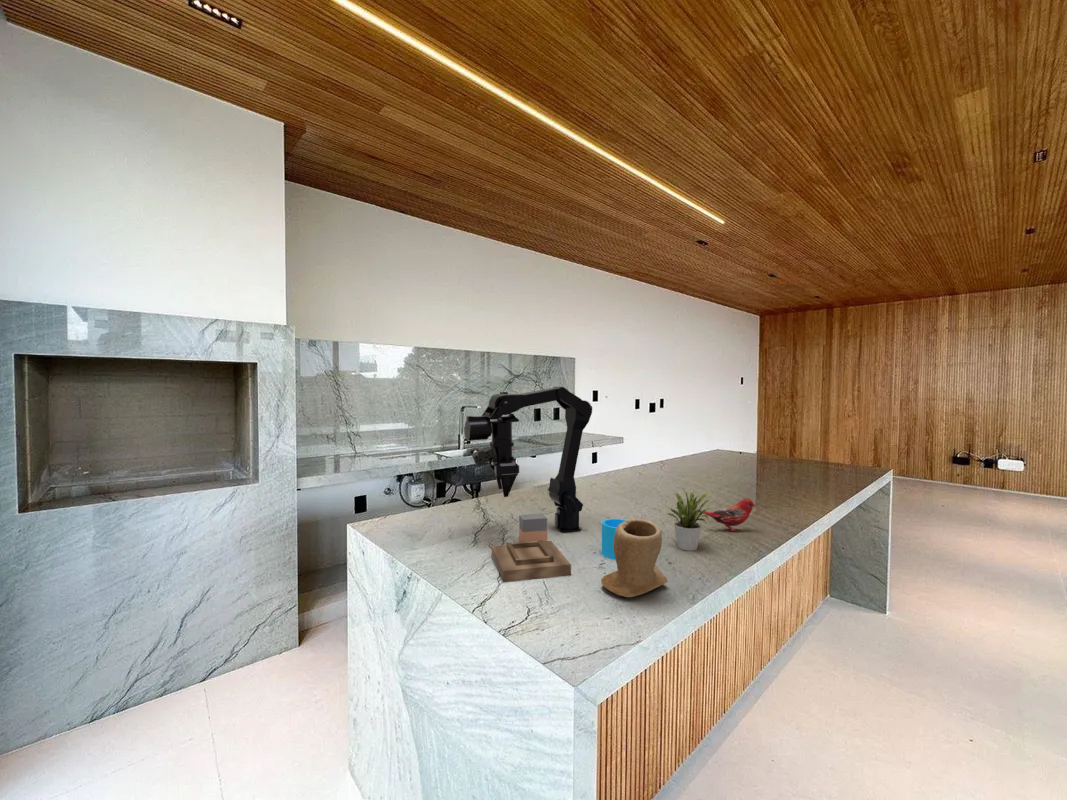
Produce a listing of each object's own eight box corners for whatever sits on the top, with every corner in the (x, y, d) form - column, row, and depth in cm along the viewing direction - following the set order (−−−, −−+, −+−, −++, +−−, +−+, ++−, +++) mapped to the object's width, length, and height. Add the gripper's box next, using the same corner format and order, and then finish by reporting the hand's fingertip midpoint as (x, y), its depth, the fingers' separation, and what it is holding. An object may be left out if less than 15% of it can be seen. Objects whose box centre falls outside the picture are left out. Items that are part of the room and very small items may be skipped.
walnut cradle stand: (551, 550, 123) (551, 536, 123) (570, 574, 108) (571, 559, 107) (491, 555, 119) (491, 541, 119) (503, 581, 104) (503, 565, 103)
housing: (542, 537, 133) (542, 513, 133) (547, 542, 129) (547, 518, 128) (519, 539, 131) (519, 515, 131) (522, 545, 127) (522, 519, 127)
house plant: (728, 547, 126) (730, 488, 125) (708, 562, 116) (709, 497, 115) (679, 535, 136) (680, 480, 135) (656, 547, 126) (657, 488, 125)
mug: (613, 562, 115) (614, 530, 115) (595, 551, 123) (595, 520, 122) (651, 554, 121) (652, 523, 120) (631, 544, 128) (632, 515, 128)
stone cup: (633, 609, 92) (635, 535, 91) (593, 587, 101) (594, 519, 101) (682, 590, 100) (684, 522, 100) (641, 571, 110) (642, 509, 109)
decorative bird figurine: (757, 533, 138) (758, 500, 138) (697, 532, 139) (698, 499, 138) (753, 529, 141) (754, 497, 141) (694, 529, 141) (695, 496, 141)
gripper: (470, 435, 138) (471, 487, 139) (477, 444, 120) (478, 503, 121) (507, 433, 141) (508, 484, 141) (519, 442, 122) (520, 500, 123)
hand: (503, 492), depth 132 cm, fingers open, 9 cm apart
